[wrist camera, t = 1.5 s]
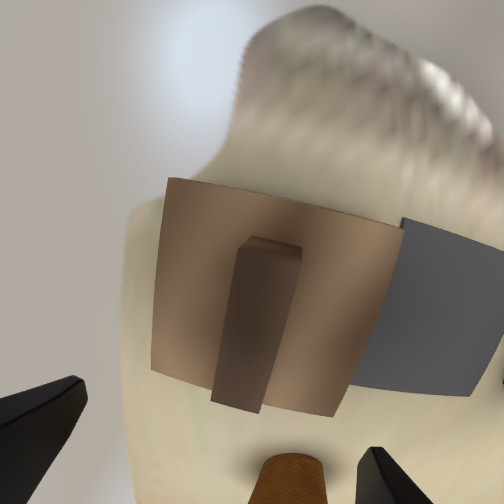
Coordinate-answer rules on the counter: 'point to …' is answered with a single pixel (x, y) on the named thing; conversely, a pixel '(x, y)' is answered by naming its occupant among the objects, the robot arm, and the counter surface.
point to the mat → (436, 316)
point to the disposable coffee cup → (290, 481)
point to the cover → (266, 296)
